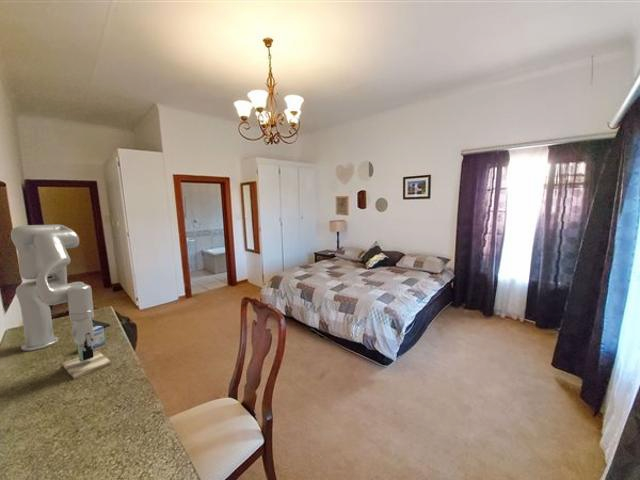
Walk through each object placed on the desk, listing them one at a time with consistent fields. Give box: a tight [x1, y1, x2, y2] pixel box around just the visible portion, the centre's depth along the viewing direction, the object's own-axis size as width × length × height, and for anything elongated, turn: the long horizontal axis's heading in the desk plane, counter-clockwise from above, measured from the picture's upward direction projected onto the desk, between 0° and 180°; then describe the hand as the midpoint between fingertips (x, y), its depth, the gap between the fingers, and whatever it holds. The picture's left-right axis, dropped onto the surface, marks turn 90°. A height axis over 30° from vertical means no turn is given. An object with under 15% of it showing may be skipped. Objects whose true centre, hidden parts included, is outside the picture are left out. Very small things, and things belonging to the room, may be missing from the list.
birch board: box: [62, 350, 112, 380], centre depth 113 cm, size 16×12×1 cm
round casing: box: [76, 341, 94, 362], centre depth 112 cm, size 5×5×8 cm
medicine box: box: [92, 326, 106, 349], centre depth 128 cm, size 8×4×9 cm, turn 168°
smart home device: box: [92, 319, 111, 329], centre depth 152 cm, size 8×2×20 cm
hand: (86, 356), depth 112 cm, fingers closed on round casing, 4 cm apart
